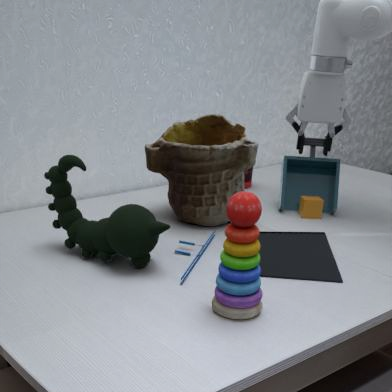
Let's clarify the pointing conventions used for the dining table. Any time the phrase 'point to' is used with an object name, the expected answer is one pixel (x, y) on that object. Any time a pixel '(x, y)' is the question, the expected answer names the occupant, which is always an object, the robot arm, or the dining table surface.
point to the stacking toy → (240, 260)
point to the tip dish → (309, 179)
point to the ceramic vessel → (202, 166)
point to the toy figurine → (102, 222)
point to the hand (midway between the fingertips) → (312, 152)
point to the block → (310, 207)
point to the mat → (297, 256)
